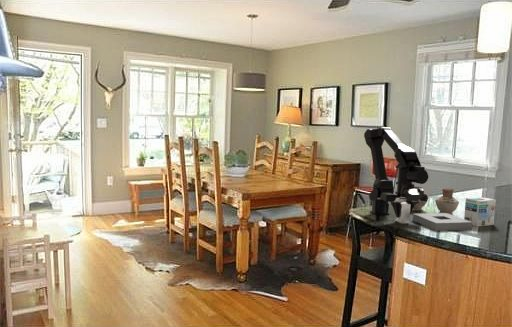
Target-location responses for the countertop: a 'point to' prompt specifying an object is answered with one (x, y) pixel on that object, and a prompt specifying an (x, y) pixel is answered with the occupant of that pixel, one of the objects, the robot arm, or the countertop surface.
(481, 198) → the light bulb box
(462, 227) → the square nut plate
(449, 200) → the pottery
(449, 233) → the countertop surface
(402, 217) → the beige rectangular block
